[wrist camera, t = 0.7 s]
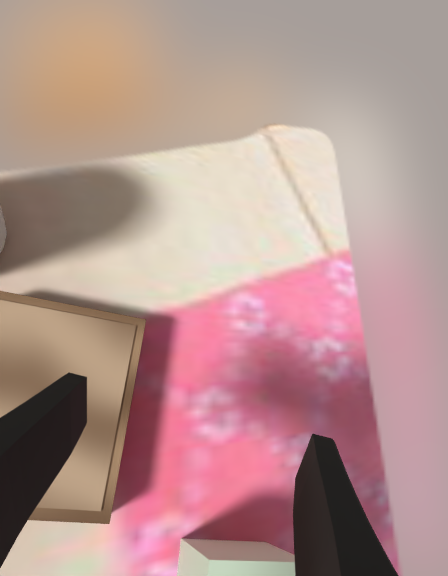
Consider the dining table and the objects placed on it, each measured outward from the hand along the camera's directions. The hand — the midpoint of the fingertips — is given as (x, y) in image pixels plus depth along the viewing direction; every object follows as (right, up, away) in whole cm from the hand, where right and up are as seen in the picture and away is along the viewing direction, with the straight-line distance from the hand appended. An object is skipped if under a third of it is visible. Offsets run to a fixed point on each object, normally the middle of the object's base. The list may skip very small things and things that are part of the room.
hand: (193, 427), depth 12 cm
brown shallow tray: (-11, -3, +13) cm, 17 cm away
